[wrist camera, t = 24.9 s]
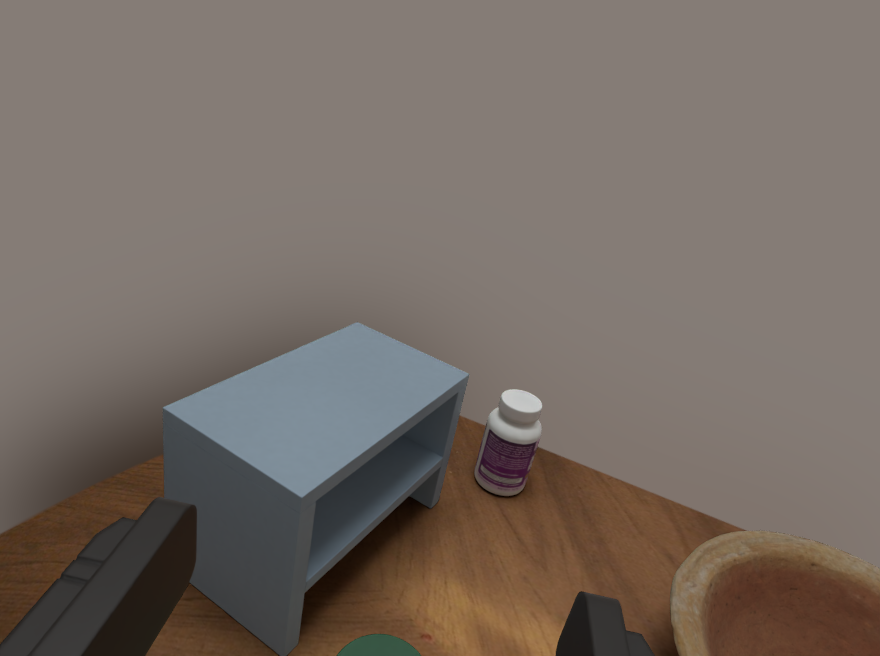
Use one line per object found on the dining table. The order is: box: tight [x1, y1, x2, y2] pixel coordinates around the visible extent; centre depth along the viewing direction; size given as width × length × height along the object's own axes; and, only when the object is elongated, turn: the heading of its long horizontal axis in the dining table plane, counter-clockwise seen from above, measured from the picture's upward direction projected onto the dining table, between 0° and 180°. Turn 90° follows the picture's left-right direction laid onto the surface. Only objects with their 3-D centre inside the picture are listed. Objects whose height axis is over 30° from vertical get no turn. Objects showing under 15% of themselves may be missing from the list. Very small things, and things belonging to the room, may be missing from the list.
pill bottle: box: [474, 389, 542, 496], centre depth 57 cm, size 5×5×10 cm
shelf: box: [163, 322, 469, 656], centre depth 46 cm, size 12×20×14 cm, turn 149°
